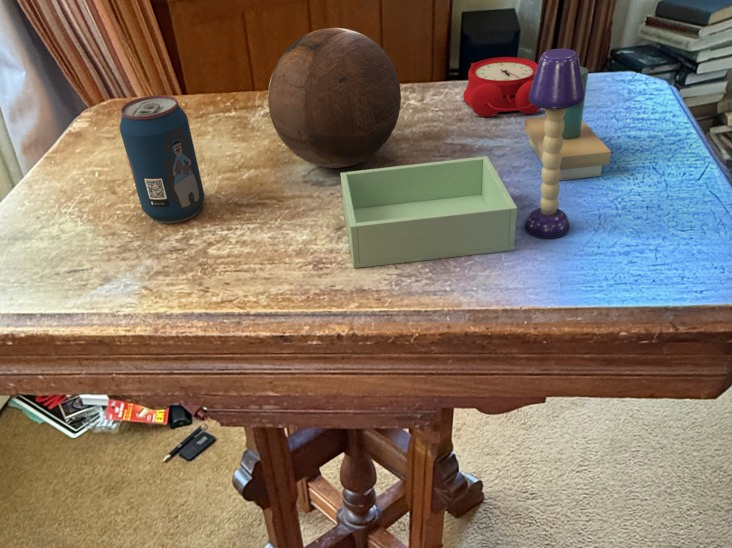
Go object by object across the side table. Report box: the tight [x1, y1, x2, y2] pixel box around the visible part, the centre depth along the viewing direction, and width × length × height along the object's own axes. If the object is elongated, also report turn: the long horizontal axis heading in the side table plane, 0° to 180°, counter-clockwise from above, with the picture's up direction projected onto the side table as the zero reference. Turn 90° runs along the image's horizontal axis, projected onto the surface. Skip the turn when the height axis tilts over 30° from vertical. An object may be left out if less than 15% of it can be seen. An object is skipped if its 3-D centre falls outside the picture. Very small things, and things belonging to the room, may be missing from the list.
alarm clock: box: [462, 56, 542, 118], centre depth 94 cm, size 10×6×15 cm
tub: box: [340, 155, 518, 269], centre depth 71 cm, size 15×11×4 cm
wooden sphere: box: [267, 27, 402, 169], centre depth 81 cm, size 15×15×15 cm
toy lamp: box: [524, 48, 586, 239], centre depth 65 cm, size 5×5×17 cm
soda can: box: [119, 94, 205, 225], centre depth 76 cm, size 7×7×12 cm
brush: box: [523, 65, 612, 182], centre depth 78 cm, size 11×6×10 cm, turn 4°
